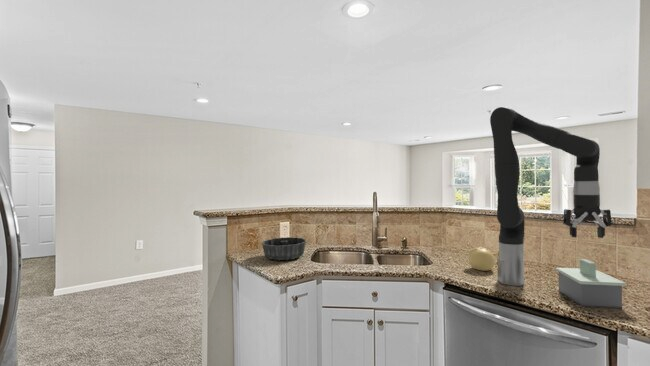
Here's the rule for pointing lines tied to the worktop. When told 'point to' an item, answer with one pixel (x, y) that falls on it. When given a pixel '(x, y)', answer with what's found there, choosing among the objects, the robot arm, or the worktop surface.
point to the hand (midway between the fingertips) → (587, 237)
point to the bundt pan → (284, 248)
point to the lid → (589, 274)
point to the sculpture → (481, 259)
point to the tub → (591, 293)
